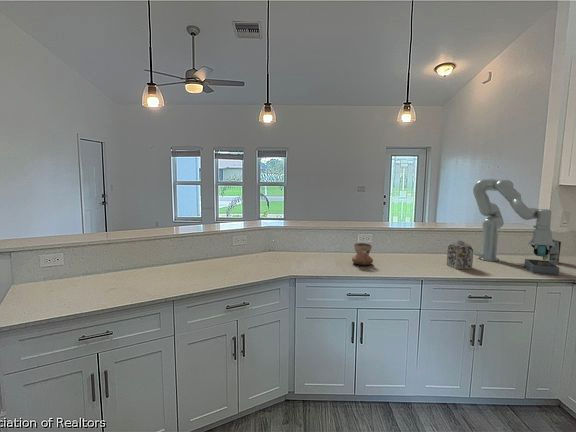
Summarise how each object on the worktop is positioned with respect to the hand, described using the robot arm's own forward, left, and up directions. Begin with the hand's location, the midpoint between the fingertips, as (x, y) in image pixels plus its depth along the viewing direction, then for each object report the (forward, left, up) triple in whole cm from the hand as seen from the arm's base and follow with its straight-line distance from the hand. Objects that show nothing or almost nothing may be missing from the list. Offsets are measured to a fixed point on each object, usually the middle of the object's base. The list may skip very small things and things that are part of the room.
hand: (540, 254), depth 222 cm
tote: (0, -4, -10) cm, 11 cm away
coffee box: (+13, +24, -10) cm, 29 cm away
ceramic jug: (-112, -33, -10) cm, 117 cm away
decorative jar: (-49, -15, -10) cm, 52 cm away
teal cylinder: (0, 0, -1) cm, 1 cm away
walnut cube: (0, -8, -9) cm, 12 cm away
